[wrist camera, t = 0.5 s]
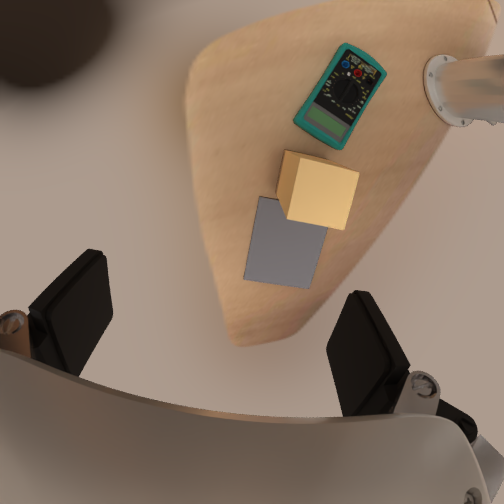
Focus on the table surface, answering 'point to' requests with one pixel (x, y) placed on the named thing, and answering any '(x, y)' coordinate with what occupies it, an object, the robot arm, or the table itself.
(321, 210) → the ochre block
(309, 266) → the mat
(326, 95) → the digital multimeter
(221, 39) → the table surface
